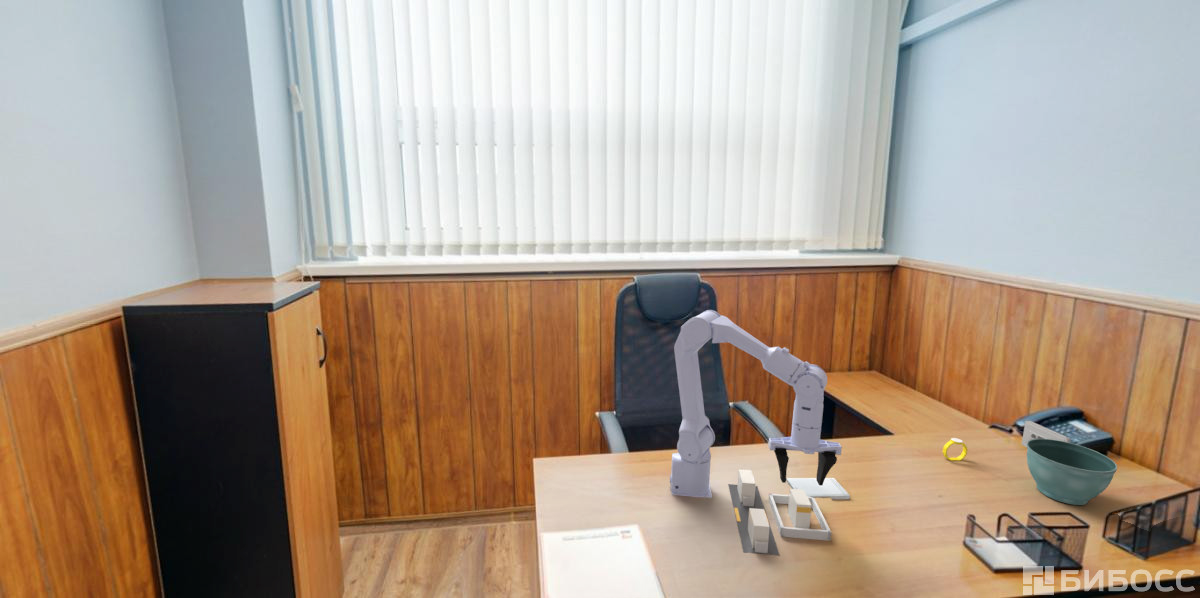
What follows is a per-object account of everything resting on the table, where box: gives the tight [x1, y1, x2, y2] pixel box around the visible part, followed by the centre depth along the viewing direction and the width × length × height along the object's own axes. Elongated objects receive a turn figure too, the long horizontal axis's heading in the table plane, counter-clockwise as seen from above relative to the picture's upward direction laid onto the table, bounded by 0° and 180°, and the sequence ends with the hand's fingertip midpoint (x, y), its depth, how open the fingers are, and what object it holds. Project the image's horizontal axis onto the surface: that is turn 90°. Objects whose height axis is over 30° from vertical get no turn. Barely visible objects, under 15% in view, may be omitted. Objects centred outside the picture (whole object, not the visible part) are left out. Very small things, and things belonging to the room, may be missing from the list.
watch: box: [942, 437, 968, 462], centre depth 142 cm, size 6×3×6 cm, turn 91°
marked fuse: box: [787, 488, 812, 529], centre depth 113 cm, size 3×6×6 cm, turn 174°
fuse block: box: [727, 483, 781, 556], centre depth 115 cm, size 7×25×3 cm, turn 173°
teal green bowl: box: [1026, 438, 1118, 506], centre depth 125 cm, size 16×16×11 cm
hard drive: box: [786, 477, 851, 500], centre depth 127 cm, size 2×8×12 cm
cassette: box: [1021, 420, 1071, 449], centre depth 146 cm, size 12×2×8 cm, turn 9°
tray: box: [768, 493, 832, 542], centre depth 114 cm, size 10×13×2 cm
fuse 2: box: [748, 508, 771, 548], centre depth 107 cm, size 3×6×5 cm, turn 173°
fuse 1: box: [737, 469, 757, 502], centre depth 123 cm, size 3×6×5 cm, turn 173°
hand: (801, 481), depth 113 cm, fingers open, 7 cm apart
